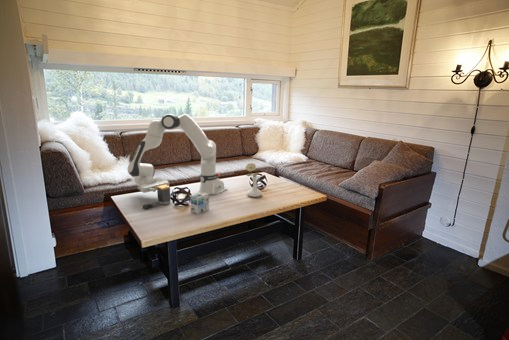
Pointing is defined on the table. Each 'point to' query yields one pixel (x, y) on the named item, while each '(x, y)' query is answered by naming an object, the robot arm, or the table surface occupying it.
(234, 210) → the table surface
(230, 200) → the table surface
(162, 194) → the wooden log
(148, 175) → the robot arm
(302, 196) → the table surface
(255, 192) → the flower in vase
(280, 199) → the table surface
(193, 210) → the light bulb box
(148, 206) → the ratchet
